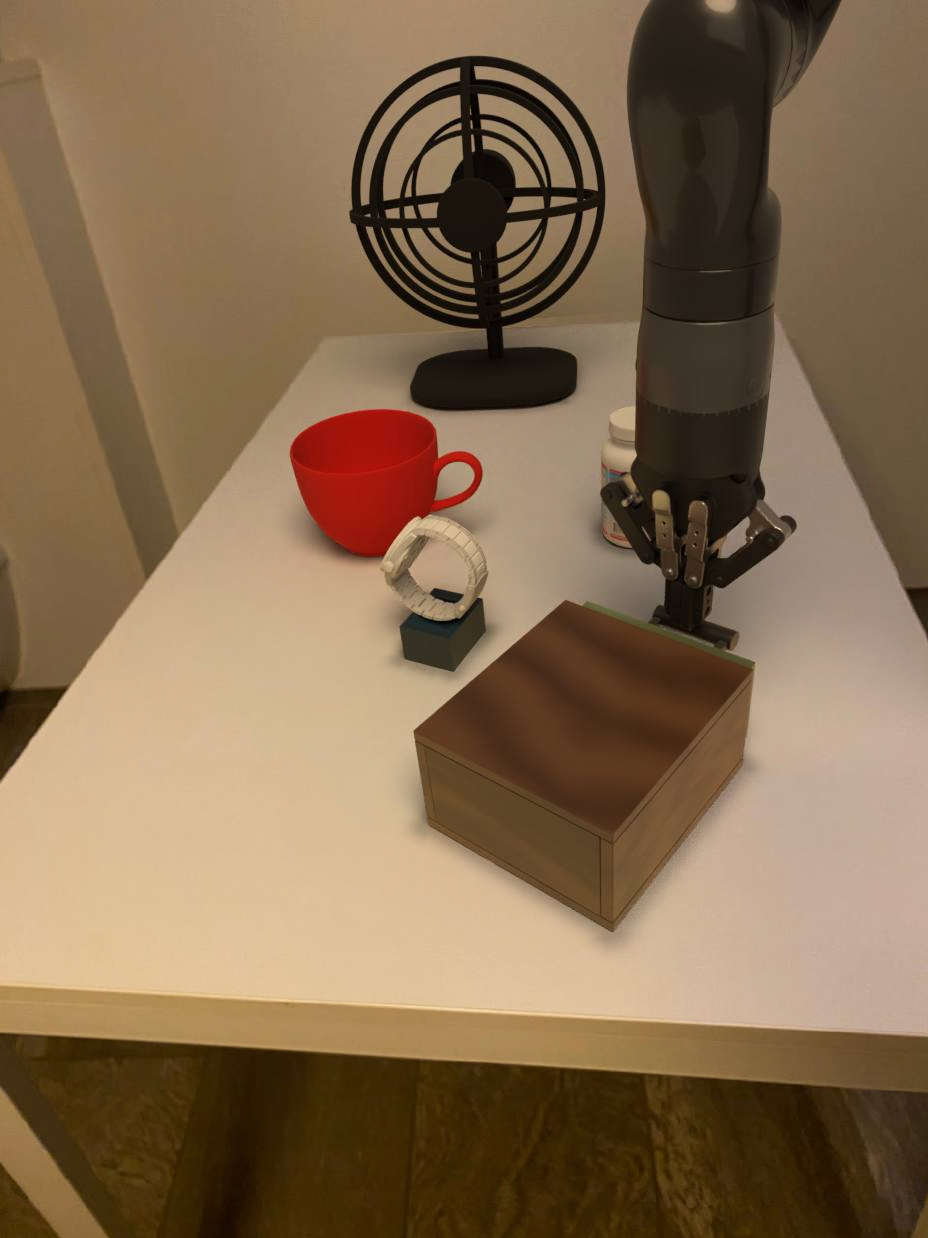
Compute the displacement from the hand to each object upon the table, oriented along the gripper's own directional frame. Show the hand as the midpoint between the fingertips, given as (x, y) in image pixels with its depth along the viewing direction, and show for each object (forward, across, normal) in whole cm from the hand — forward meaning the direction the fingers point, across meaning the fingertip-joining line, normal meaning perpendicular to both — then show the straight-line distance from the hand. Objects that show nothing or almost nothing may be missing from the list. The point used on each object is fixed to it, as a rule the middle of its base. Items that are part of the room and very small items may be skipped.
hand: (686, 621), depth 65 cm
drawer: (+5, 0, +8) cm, 9 cm away
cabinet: (+6, 0, +12) cm, 14 cm away
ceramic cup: (+6, +32, -5) cm, 33 cm away
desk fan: (+6, +46, -37) cm, 59 cm away
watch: (+6, +18, +5) cm, 20 cm away
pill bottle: (+6, +14, -17) cm, 22 cm away
